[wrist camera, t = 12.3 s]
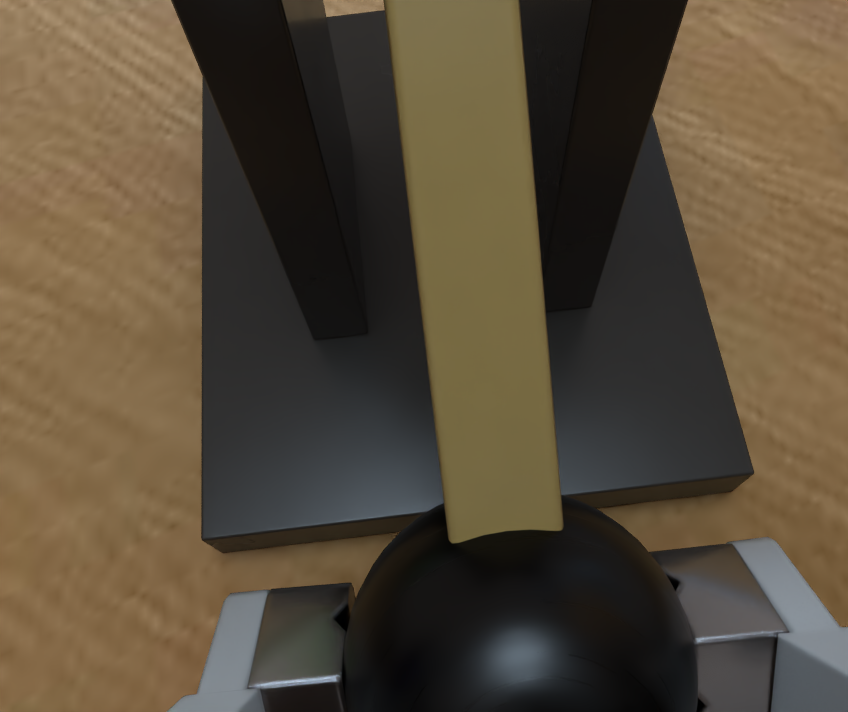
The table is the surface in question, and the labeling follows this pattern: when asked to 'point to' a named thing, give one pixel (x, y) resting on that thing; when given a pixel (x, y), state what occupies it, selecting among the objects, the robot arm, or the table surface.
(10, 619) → the table surface
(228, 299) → the lever stand
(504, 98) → the lever handle
